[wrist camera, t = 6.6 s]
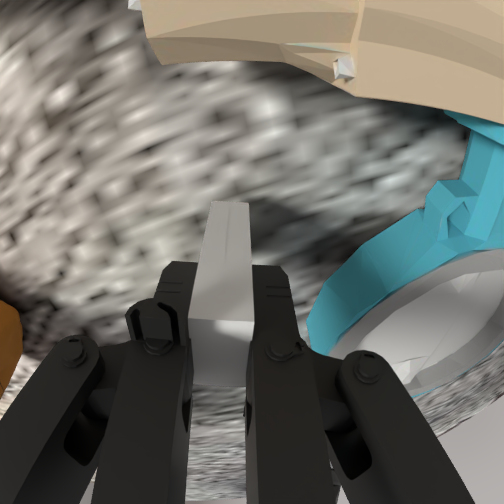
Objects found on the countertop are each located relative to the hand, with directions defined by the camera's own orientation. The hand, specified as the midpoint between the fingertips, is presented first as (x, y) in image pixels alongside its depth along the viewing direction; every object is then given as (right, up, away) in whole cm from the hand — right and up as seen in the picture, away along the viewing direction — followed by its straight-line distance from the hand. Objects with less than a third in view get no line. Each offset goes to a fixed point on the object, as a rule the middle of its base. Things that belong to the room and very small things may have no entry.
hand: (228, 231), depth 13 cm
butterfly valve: (+11, 0, +2) cm, 11 cm away
